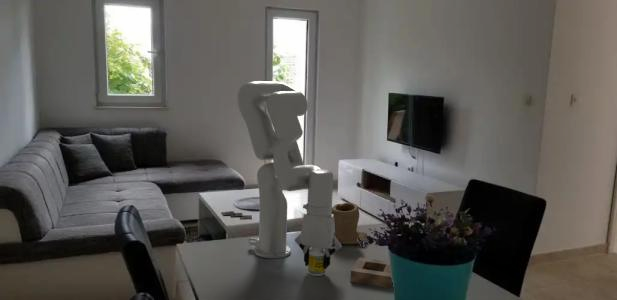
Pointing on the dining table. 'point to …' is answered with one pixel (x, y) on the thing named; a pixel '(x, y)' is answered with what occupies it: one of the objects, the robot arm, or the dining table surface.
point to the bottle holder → (372, 272)
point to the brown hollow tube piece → (347, 223)
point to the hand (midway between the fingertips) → (316, 265)
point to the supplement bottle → (316, 261)
